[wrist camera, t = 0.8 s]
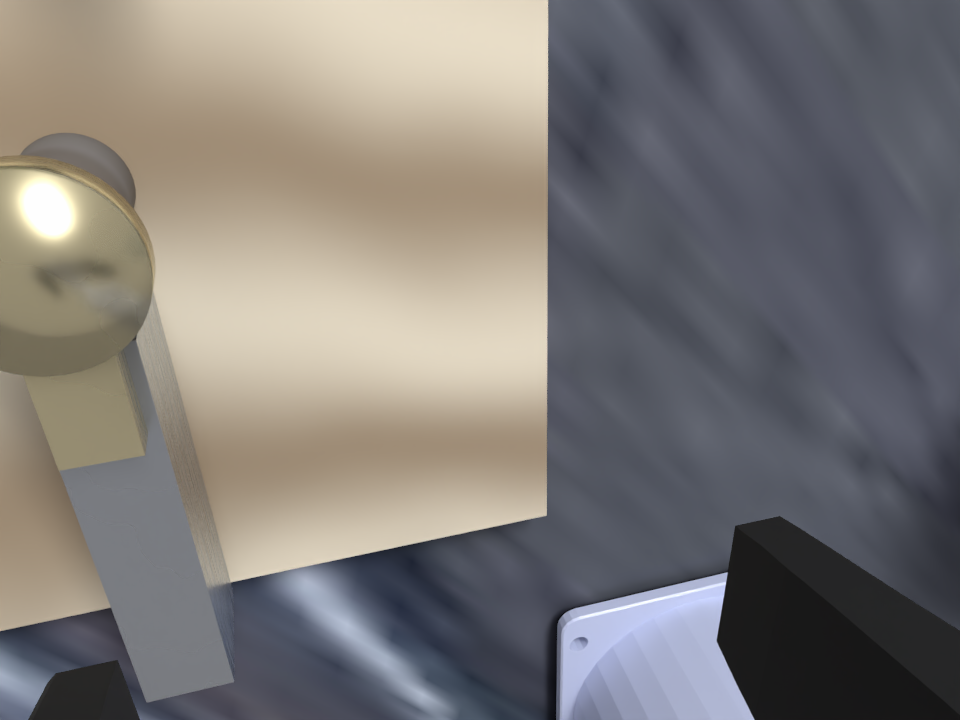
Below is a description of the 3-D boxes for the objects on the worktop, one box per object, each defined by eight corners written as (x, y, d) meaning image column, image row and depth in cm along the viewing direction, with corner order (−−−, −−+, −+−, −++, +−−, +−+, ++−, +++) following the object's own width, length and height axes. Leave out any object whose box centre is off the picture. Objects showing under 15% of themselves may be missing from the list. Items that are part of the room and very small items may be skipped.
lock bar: (-58, 114, 12) (-141, 184, 9) (144, 95, 13) (121, 156, 10) (125, 614, 17) (107, 753, 15) (261, 585, 18) (267, 713, 15)
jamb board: (535, 494, 20) (588, 598, 17) (-48, 614, 18) (-102, 760, 15) (530, -558, 11) (639, -713, 8) (-692, -631, 8) (-1178, -899, 6)
